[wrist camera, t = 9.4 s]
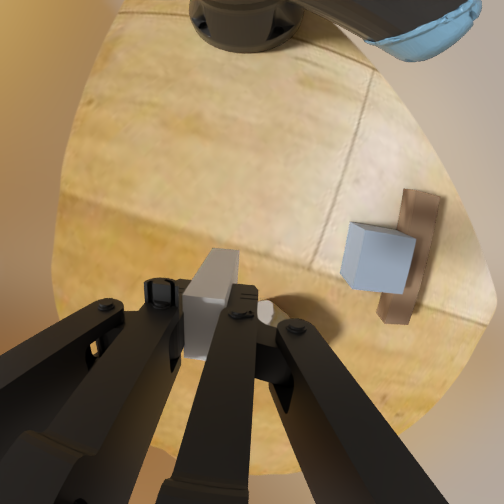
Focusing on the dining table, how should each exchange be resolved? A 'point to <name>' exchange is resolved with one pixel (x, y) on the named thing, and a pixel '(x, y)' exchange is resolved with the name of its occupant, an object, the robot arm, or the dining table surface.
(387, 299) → the brown wavy bar
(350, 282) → the block
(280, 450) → the dining table surface
